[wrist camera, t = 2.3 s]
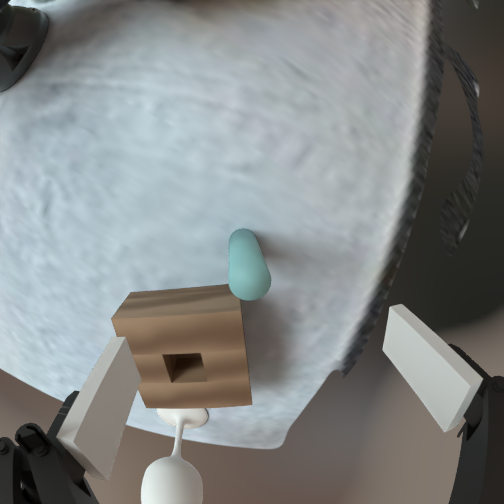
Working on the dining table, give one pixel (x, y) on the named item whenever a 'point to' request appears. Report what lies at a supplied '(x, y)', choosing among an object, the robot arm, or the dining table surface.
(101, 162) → the dining table surface
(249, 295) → the dowel
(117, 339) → the robot arm
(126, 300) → the socket block
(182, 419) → the wineglass
